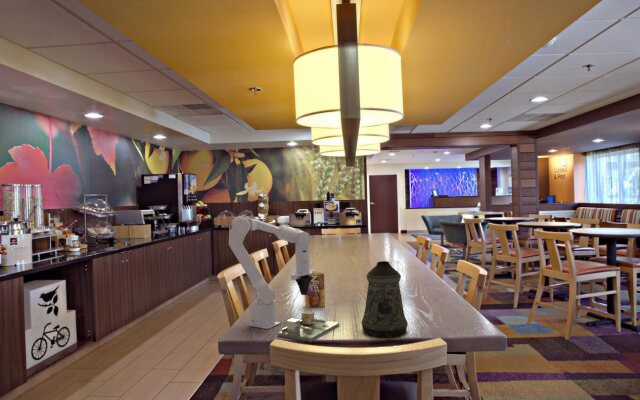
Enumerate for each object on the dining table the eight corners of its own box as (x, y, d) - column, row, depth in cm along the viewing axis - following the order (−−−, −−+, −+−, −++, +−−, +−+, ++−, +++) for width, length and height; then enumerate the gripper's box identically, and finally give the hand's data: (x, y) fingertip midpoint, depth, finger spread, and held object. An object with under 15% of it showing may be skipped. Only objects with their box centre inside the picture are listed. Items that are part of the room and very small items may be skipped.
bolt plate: (278, 335, 153) (277, 329, 153) (309, 320, 170) (308, 315, 170) (310, 342, 146) (310, 335, 146) (339, 325, 163) (339, 320, 163)
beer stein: (367, 340, 146) (364, 267, 145) (356, 323, 165) (354, 259, 165) (414, 337, 147) (411, 265, 147) (398, 320, 167) (396, 257, 166)
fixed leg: (287, 331, 154) (286, 320, 154) (292, 329, 157) (291, 318, 157) (309, 335, 149) (308, 324, 149) (314, 333, 152) (313, 321, 152)
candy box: (324, 304, 195) (323, 271, 195) (325, 306, 191) (324, 272, 191) (305, 305, 194) (303, 272, 194) (305, 308, 190) (304, 273, 190)
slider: (301, 323, 162) (301, 313, 162) (306, 321, 165) (306, 311, 165) (323, 327, 157) (323, 316, 157) (327, 324, 160) (327, 314, 160)
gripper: (300, 264, 163) (301, 299, 163) (320, 258, 175) (321, 291, 175) (285, 263, 167) (287, 297, 167) (306, 257, 179) (307, 290, 179)
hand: (304, 294), depth 171 cm, fingers closed
